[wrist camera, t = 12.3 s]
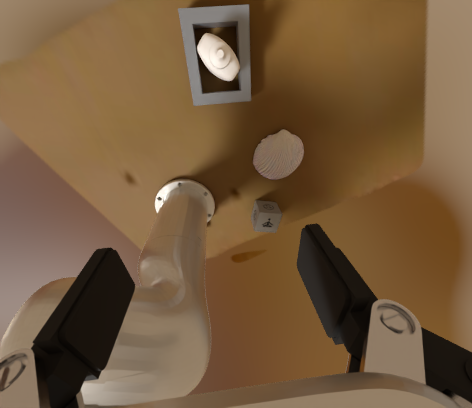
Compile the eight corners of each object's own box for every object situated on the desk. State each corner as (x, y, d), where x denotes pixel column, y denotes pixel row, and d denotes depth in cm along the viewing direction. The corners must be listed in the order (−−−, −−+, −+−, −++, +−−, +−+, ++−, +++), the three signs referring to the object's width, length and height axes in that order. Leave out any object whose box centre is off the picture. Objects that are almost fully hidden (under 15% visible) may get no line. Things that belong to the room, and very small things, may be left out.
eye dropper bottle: (223, 33, 29) (229, 8, 19) (237, 76, 32) (249, 74, 22) (196, 47, 29) (187, 30, 19) (213, 88, 32) (213, 91, 22)
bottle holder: (248, 99, 34) (251, 100, 31) (195, 103, 33) (193, 105, 31) (245, 11, 28) (248, 4, 25) (181, 15, 27) (178, 8, 25)
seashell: (315, 129, 35) (308, 184, 38) (302, 129, 40) (296, 178, 43) (258, 129, 33) (256, 186, 37) (252, 129, 39) (251, 179, 42)
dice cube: (250, 217, 47) (254, 231, 43) (255, 199, 45) (259, 212, 40) (270, 219, 48) (276, 232, 44) (276, 201, 46) (282, 214, 41)
